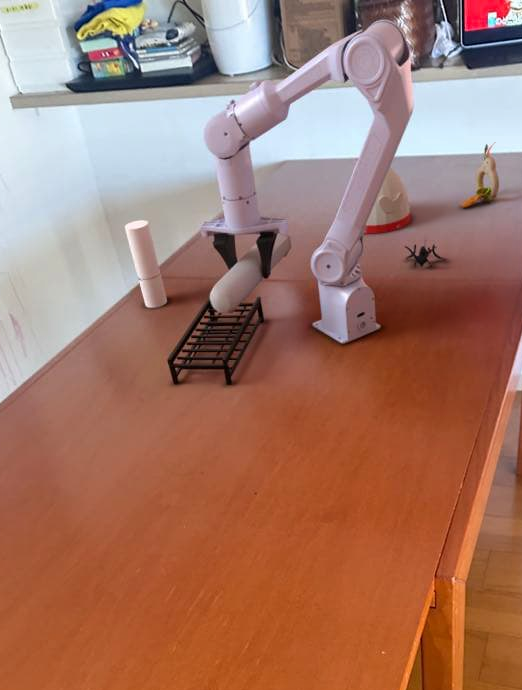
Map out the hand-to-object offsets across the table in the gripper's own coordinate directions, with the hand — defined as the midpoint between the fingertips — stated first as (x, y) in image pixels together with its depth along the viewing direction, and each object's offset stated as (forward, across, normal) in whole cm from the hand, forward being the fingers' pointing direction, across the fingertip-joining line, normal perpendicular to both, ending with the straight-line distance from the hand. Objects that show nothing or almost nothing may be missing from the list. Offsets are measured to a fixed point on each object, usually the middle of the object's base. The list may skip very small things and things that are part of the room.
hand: (251, 276), depth 131 cm
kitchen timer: (+9, -15, -47) cm, 50 cm away
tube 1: (+9, +23, -8) cm, 26 cm away
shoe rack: (+8, +4, +11) cm, 14 cm away
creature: (+9, -27, -24) cm, 37 cm away
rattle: (+9, -35, -56) cm, 67 cm away
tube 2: (+2, 0, 0) cm, 2 cm away
